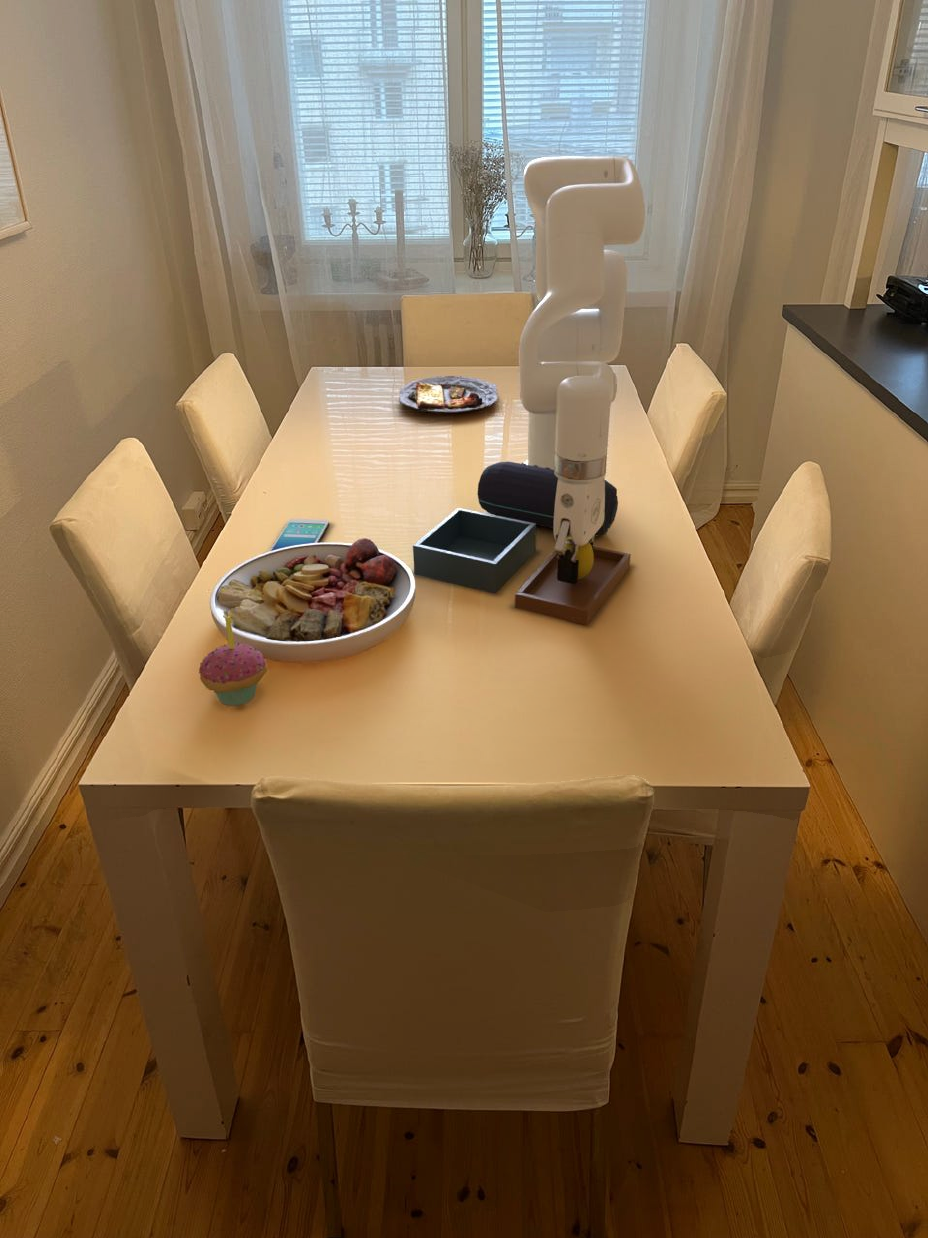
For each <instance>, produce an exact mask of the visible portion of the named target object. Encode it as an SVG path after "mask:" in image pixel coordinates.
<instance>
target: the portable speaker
mask: <svg viewBox="0 0 928 1238" xmlns="http://www.w3.org/2000/svg"><path fill="white" fill-rule="evenodd" d="M557 483H558V477H556V476H555V474H554V470H552V469H550V468H548V467H546V468H542V467H538V466H537V465H534V466H531V465H526V464H525V463H524V462H521V463H519V462H515V461H499V462H496V463H493V464H491V465H488V466H487V467H486V468H484V469H483V471H482V473H481V474H480V477H479V481H478V484H477V493H476V494H477V499H478V504H479V505H480V507H481V509H483V510H484V511H485V512H486V513H487V514H492V515H497V516H501V517H506V518H511V519H516V520H521V521H526V522H531V523H536V526H539V527H543V528H544V527H545V528H549V529H553V526H554V509H555V498H556V490H557ZM618 507H619V500H618V489H617V487H615V486H614V485H613V484H612V483H611V482H609V481H607V480H606V479H605V514H604V522H603V524H602V526H601V527H600V529H599V530H598V531H597V532H596V533H595V537H603V536H605V535H606V534H607V532H608V530H609V529H610V528H611V526H612V525H613V523H614V521H615V519H616V516H617V511H618Z"/></svg>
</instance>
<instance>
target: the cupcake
mask: <svg viewBox="0 0 928 1238" xmlns="http://www.w3.org/2000/svg"><path fill="white" fill-rule="evenodd" d="M226 615H227V616H226V617H225V621H226V628H227V635H228V640H227V642H228V643H227V644H224V645H221V646H219V647H215V648H214V649H213V650H212V651H210V652H209V653H207V655H206V656H204V657H203V658H202V662H200V663H199V669H198V670H199V672H198V673H199V678H200V681H201V683H202V684H203V685H204V687H205V688H206V689H207V690H209V691H212V692H214V694H215V695H216V697H217V698H218V700H219V702H220V703H221V704H223V705H225V706H230V707H238V706H243V705H245V704H247V703H249V702H251V701H252V700H253V699H254V698H255V696H256V694H257V687H258V683H259V682H260V681H261V680H262V678H263V677H264V675H265V674H266V673H267V670H268V666H267V662H266V659H264V657H263V655H262V654H261V651H258V650H256V648H254V647H253V646H251V647H250V646H248V645H244V644H240V643H234V640H233V633H232V626H231V619H230V616H228V610H226Z"/></svg>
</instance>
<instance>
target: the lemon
mask: <svg viewBox="0 0 928 1238" xmlns="http://www.w3.org/2000/svg"><path fill="white" fill-rule="evenodd" d="M568 539H569V540H573V539H572V537H571V536H569V538H568ZM566 547H567V549H569V550H570V551H571V552H572V549H573V545H568V544H567V545H566ZM576 560H579V568H578V580H580V579H582V578H584V577H586V576H587V575H588V574H589V573H590V571H591V569H592V566H593V562H594V554H593V549H592V546H591V544H590V543H589V541H588V542H587V543H586V544H585V545H584V546H579V548H578V554H577V559H576Z"/></svg>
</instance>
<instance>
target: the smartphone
mask: <svg viewBox="0 0 928 1238" xmlns="http://www.w3.org/2000/svg"><path fill="white" fill-rule="evenodd" d="M329 527H330V521H329V520H328V519H314V518H313V519H312V518H311V519H310V518H291V519H288V521H287V522H286V524H285V526H284V527H283V529H282V530H281V532H280V534H279V535H278V537H277V538H276V539H275V541H274V542H273V544H272V546H271V547H270V549H269V550H268V552H270V551H273V550H277V549H280V548H285V547H290V546H295V545H302V544H310V543H321V541H322V539H323V538H324V536H325V534H326V532H327V530H328V529H329Z"/></svg>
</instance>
